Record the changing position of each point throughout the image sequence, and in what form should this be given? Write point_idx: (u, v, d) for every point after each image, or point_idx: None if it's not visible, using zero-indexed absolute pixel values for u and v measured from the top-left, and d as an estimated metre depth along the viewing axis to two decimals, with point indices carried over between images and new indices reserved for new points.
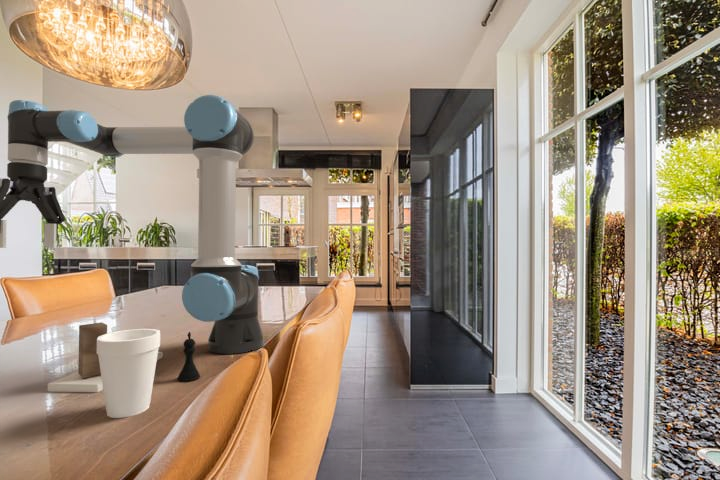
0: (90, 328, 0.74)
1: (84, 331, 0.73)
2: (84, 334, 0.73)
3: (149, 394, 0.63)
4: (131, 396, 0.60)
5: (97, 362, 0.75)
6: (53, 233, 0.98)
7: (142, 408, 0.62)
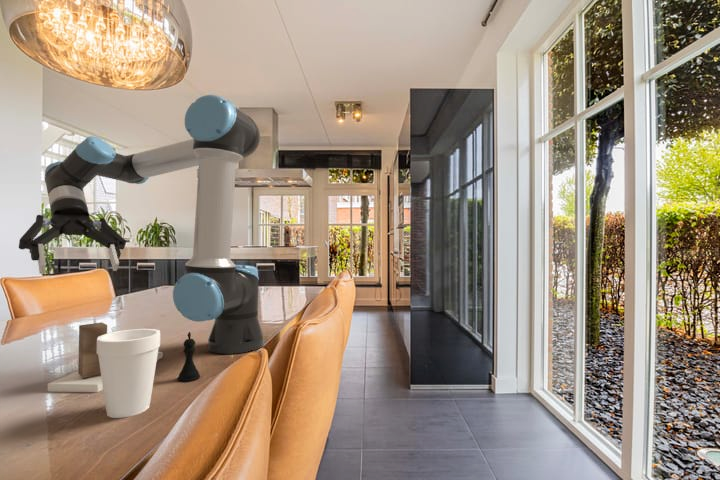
0: (90, 328, 0.74)
1: (84, 331, 0.73)
2: (84, 334, 0.73)
3: (149, 394, 0.63)
4: (131, 396, 0.60)
5: (97, 362, 0.75)
6: (112, 252, 0.89)
7: (142, 408, 0.62)
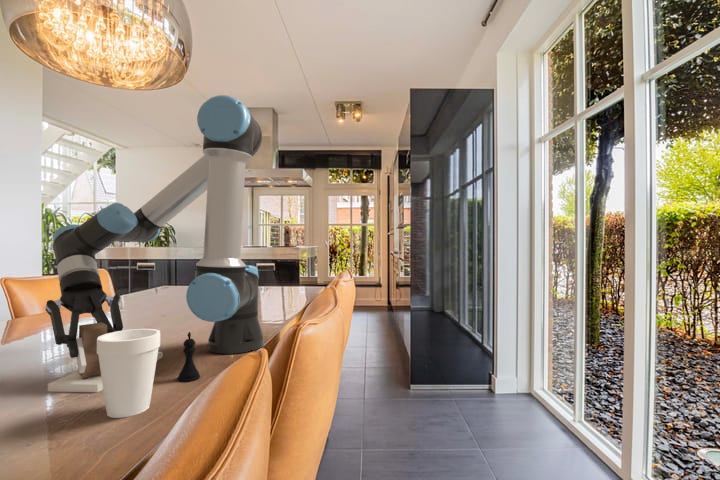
0: (90, 328, 0.74)
1: (84, 331, 0.73)
2: (84, 334, 0.73)
3: (149, 394, 0.63)
4: (131, 396, 0.60)
5: (97, 362, 0.75)
6: None
7: (142, 408, 0.62)
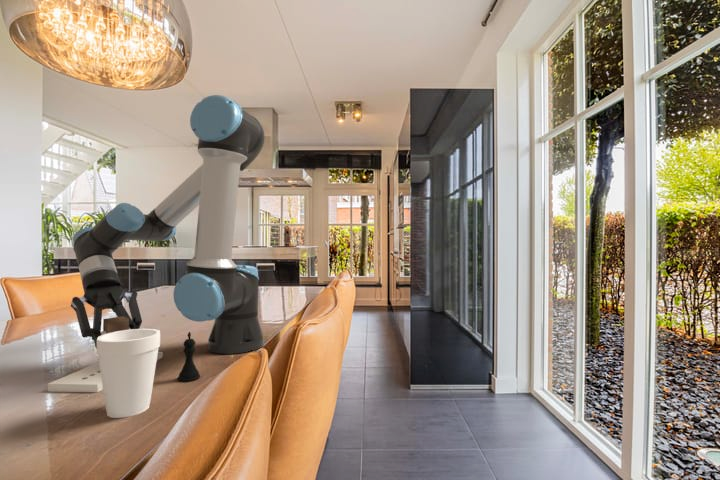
0: (114, 321, 0.81)
1: (108, 324, 0.80)
2: (108, 326, 0.80)
3: (149, 394, 0.63)
4: (131, 396, 0.60)
5: None
6: None
7: (142, 408, 0.62)
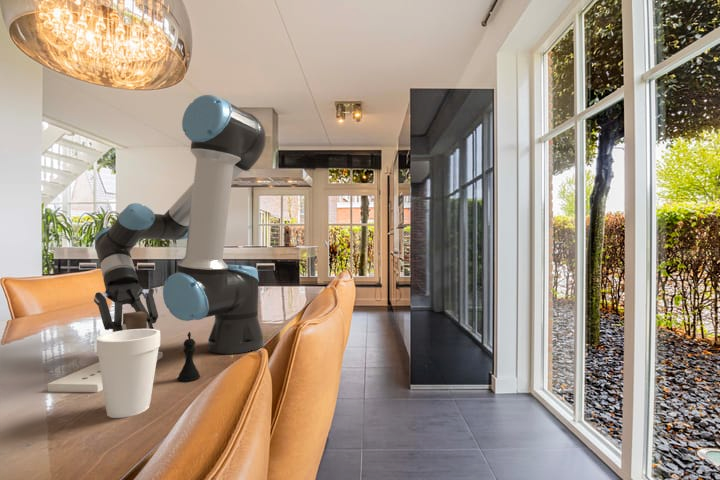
0: (133, 315, 0.87)
1: (128, 318, 0.87)
2: (128, 320, 0.87)
3: (149, 394, 0.63)
4: (131, 396, 0.60)
5: None
6: None
7: (142, 408, 0.62)
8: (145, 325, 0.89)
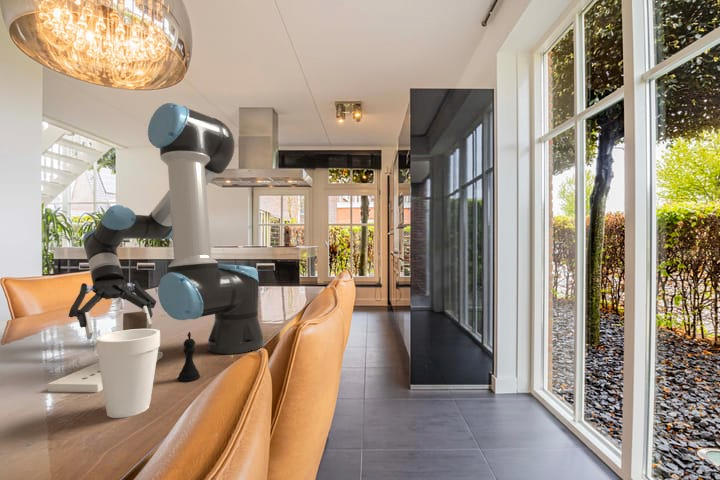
0: (133, 315, 0.87)
1: (129, 318, 0.87)
2: (129, 320, 0.87)
3: (149, 394, 0.63)
4: (131, 396, 0.60)
5: None
6: None
7: (142, 408, 0.62)
8: (145, 325, 0.89)
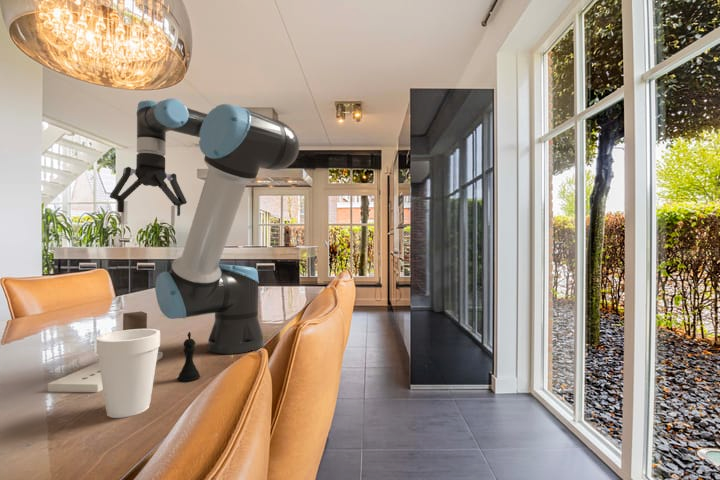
0: (133, 315, 0.87)
1: (129, 318, 0.87)
2: (129, 320, 0.87)
3: (149, 394, 0.63)
4: (131, 396, 0.60)
5: None
6: (174, 213, 1.13)
7: (142, 408, 0.62)
8: (145, 325, 0.89)
